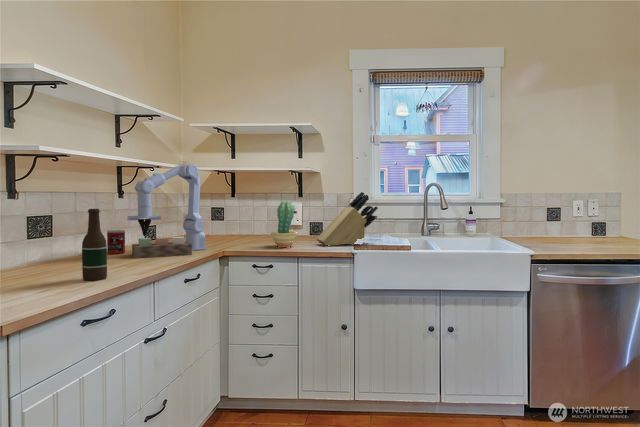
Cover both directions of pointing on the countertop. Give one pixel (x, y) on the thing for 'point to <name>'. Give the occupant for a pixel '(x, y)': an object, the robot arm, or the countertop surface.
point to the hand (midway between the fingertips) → (144, 235)
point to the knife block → (349, 223)
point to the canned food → (116, 241)
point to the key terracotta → (162, 241)
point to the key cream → (178, 240)
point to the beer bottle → (94, 250)
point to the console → (161, 250)
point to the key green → (144, 241)
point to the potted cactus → (284, 226)
